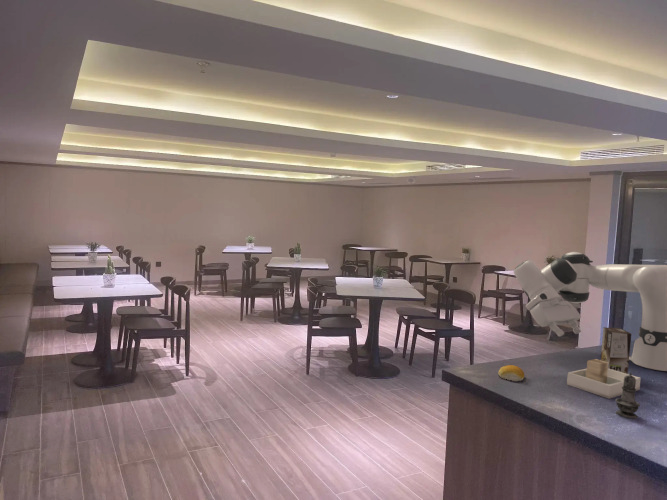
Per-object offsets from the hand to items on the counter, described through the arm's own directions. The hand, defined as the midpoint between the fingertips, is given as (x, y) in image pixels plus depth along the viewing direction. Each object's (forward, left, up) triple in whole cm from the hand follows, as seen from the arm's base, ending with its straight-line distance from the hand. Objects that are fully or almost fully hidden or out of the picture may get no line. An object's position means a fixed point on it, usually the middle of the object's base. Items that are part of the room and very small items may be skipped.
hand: (570, 334), depth 162 cm
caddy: (-5, +10, -16) cm, 19 cm away
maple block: (0, +10, -15) cm, 18 cm away
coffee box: (-22, +4, -16) cm, 28 cm away
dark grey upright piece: (+13, +26, -16) cm, 33 cm away
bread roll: (+16, -10, -16) cm, 25 cm away
